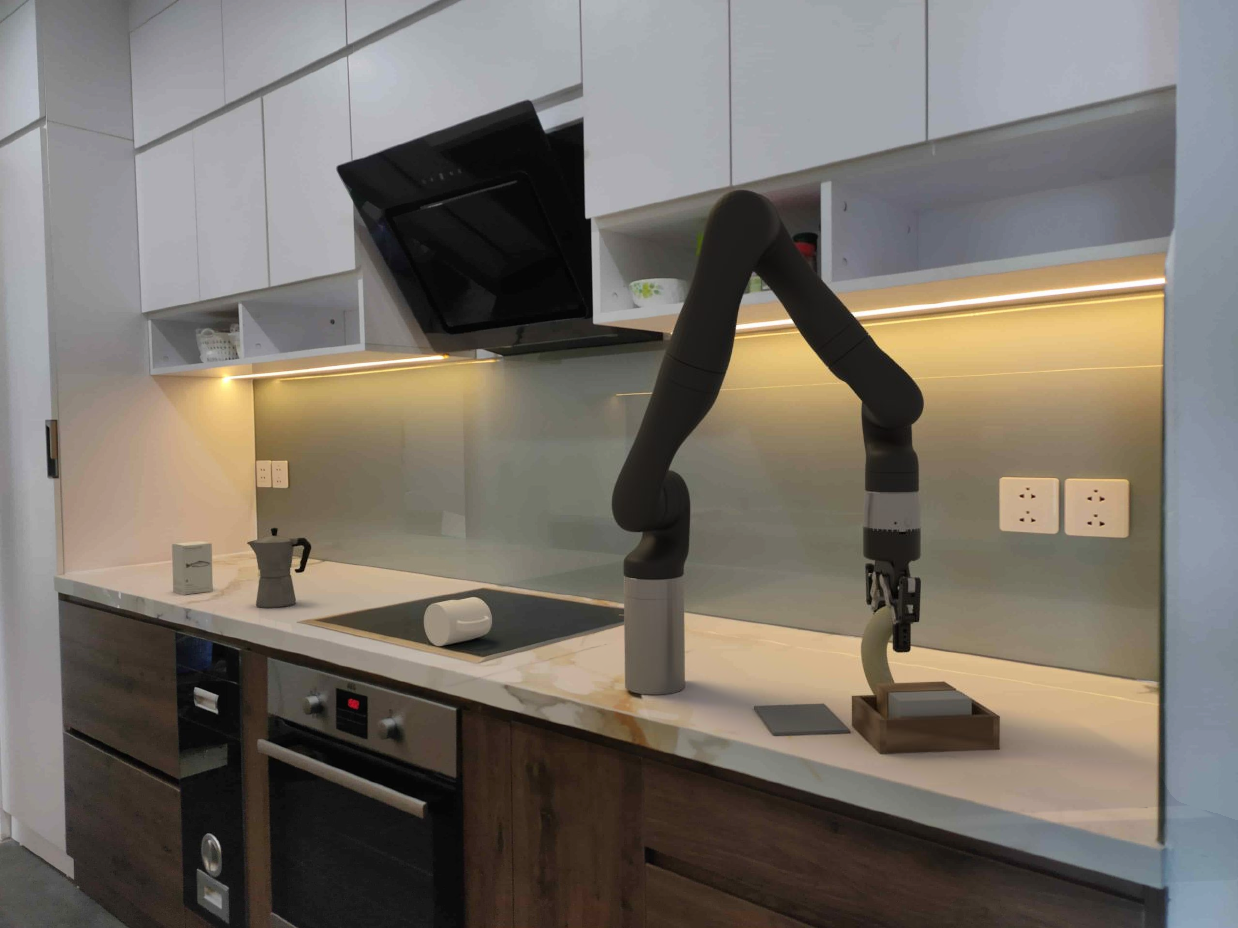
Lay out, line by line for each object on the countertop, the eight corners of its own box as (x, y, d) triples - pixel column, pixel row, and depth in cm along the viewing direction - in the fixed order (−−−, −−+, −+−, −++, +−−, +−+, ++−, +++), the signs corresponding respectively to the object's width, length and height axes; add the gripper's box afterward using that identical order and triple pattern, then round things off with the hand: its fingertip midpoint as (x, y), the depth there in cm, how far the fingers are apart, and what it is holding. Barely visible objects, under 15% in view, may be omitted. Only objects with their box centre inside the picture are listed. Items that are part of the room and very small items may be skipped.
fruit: (864, 685, 126) (849, 692, 124) (877, 590, 121) (862, 596, 119) (906, 709, 120) (892, 716, 118) (922, 610, 116) (907, 617, 114)
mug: (421, 642, 164) (420, 600, 164) (461, 633, 171) (460, 593, 171) (461, 652, 156) (460, 608, 156) (501, 642, 163) (500, 600, 163)
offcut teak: (876, 729, 113) (876, 683, 113) (944, 726, 113) (944, 681, 113) (887, 738, 109) (887, 691, 109) (956, 736, 110) (956, 688, 110)
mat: (753, 708, 122) (753, 705, 121) (823, 706, 122) (823, 703, 122) (773, 735, 111) (773, 732, 111) (850, 732, 111) (849, 729, 111)
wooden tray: (851, 725, 114) (851, 695, 114) (961, 721, 115) (961, 691, 115) (880, 753, 104) (879, 720, 104) (999, 748, 105) (999, 716, 105)
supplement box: (183, 595, 217) (182, 545, 217) (172, 592, 222) (171, 543, 222) (213, 591, 222) (212, 542, 222) (202, 588, 228) (201, 540, 227)
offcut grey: (888, 740, 109) (888, 692, 109) (958, 737, 109) (958, 690, 109) (899, 749, 105) (899, 700, 105) (971, 747, 106) (971, 698, 106)
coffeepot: (238, 607, 200) (236, 529, 200) (259, 600, 210) (257, 525, 209) (303, 608, 199) (301, 529, 198) (320, 600, 208) (319, 525, 208)
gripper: (847, 519, 125) (847, 634, 126) (884, 530, 111) (884, 659, 112) (897, 518, 126) (897, 632, 127) (941, 529, 112) (941, 658, 112)
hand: (891, 644), depth 119 cm, fingers closed on fruit, 6 cm apart
